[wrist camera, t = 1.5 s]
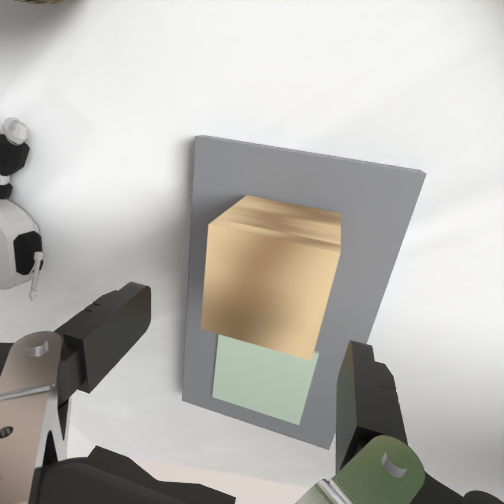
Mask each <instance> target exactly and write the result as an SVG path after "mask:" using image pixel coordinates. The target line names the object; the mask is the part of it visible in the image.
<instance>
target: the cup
mask: <svg viewBox="0 0 504 504" xmlns="http://www.w3.org/2000/svg"><path fill="white" fill-rule="evenodd" d="M15 1H20V2H26V3H33V4H53V3H57V2H60V1H63V0H15Z"/></svg>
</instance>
